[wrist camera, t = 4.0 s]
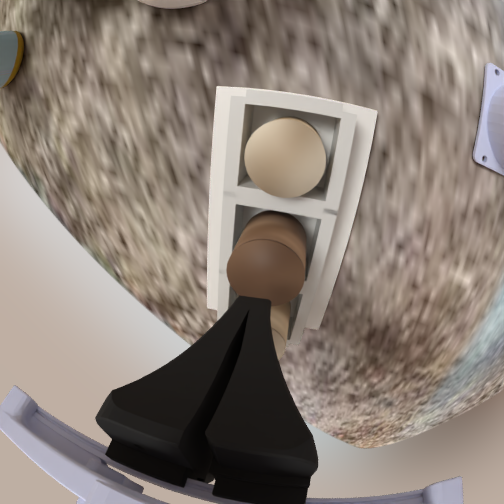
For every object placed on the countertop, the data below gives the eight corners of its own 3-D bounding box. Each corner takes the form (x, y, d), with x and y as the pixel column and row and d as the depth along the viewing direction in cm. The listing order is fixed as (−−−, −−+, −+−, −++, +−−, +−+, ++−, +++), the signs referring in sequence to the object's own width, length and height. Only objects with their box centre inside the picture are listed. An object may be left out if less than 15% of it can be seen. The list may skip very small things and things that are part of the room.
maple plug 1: (326, 122, 15) (332, 127, 12) (316, 183, 17) (318, 204, 14) (261, 112, 16) (248, 114, 12) (254, 172, 18) (240, 191, 14)
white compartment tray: (374, 110, 15) (389, 112, 12) (318, 323, 24) (317, 353, 21) (220, 86, 16) (201, 84, 13) (209, 302, 25) (197, 328, 22)
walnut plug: (312, 216, 16) (312, 249, 13) (300, 271, 18) (296, 312, 15) (246, 204, 17) (228, 234, 13) (240, 260, 19) (224, 298, 15)
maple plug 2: (295, 289, 19) (290, 330, 16) (285, 329, 21) (279, 369, 18) (239, 278, 20) (223, 317, 16) (235, 319, 22) (221, 357, 18)
